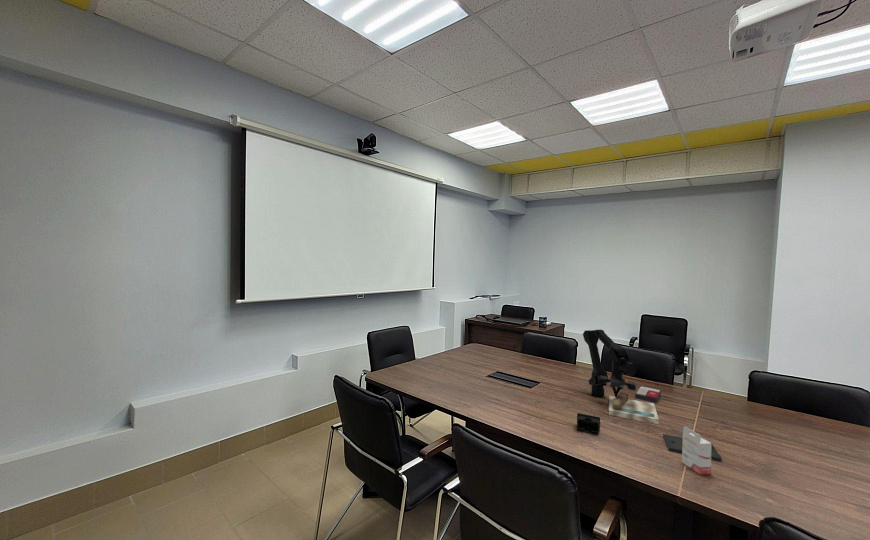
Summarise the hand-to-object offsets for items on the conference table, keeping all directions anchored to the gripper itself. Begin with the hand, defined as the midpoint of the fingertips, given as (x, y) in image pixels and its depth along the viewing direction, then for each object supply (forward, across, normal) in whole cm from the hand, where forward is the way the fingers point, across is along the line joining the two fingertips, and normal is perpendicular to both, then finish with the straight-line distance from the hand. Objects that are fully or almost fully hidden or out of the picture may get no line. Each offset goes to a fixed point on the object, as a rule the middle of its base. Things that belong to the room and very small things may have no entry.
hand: (615, 397), depth 191 cm
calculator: (+5, +15, +27) cm, 31 cm away
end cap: (+5, -7, -40) cm, 41 cm away
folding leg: (+2, +2, -3) cm, 5 cm away
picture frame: (+4, +32, -32) cm, 46 cm away
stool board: (+4, +8, -3) cm, 10 cm away
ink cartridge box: (+3, +33, -49) cm, 59 cm away
